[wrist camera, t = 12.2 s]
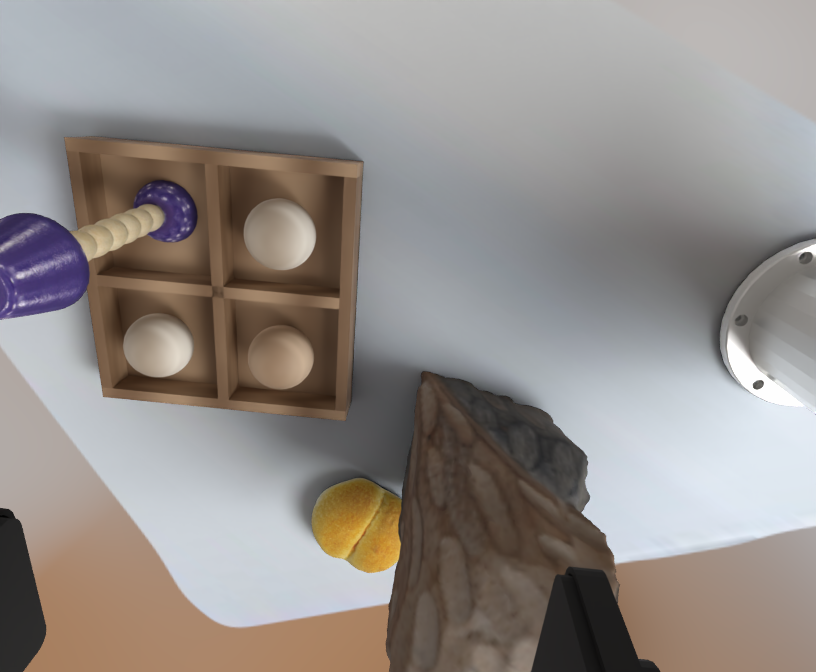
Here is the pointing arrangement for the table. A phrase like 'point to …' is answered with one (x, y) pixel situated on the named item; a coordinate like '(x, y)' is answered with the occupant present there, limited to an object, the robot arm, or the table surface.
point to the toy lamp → (80, 248)
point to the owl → (485, 531)
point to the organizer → (223, 272)
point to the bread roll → (358, 524)
